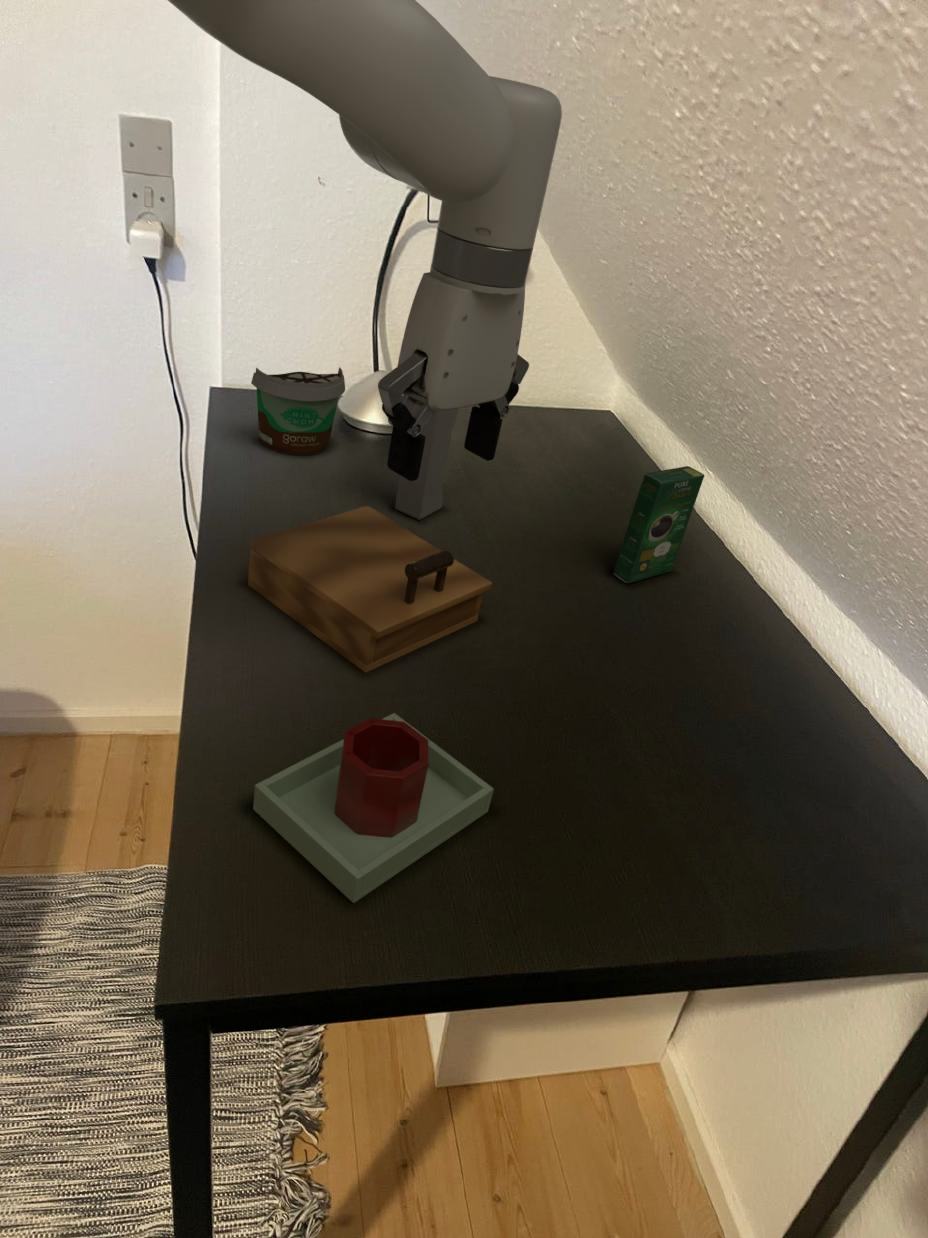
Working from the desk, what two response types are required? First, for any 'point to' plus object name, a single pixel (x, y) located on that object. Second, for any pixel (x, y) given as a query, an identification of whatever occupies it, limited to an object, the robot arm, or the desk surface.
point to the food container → (297, 410)
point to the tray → (365, 862)
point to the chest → (343, 630)
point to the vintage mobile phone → (428, 467)
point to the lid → (371, 569)
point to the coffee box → (658, 523)
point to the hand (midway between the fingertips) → (441, 463)
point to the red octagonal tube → (381, 777)
